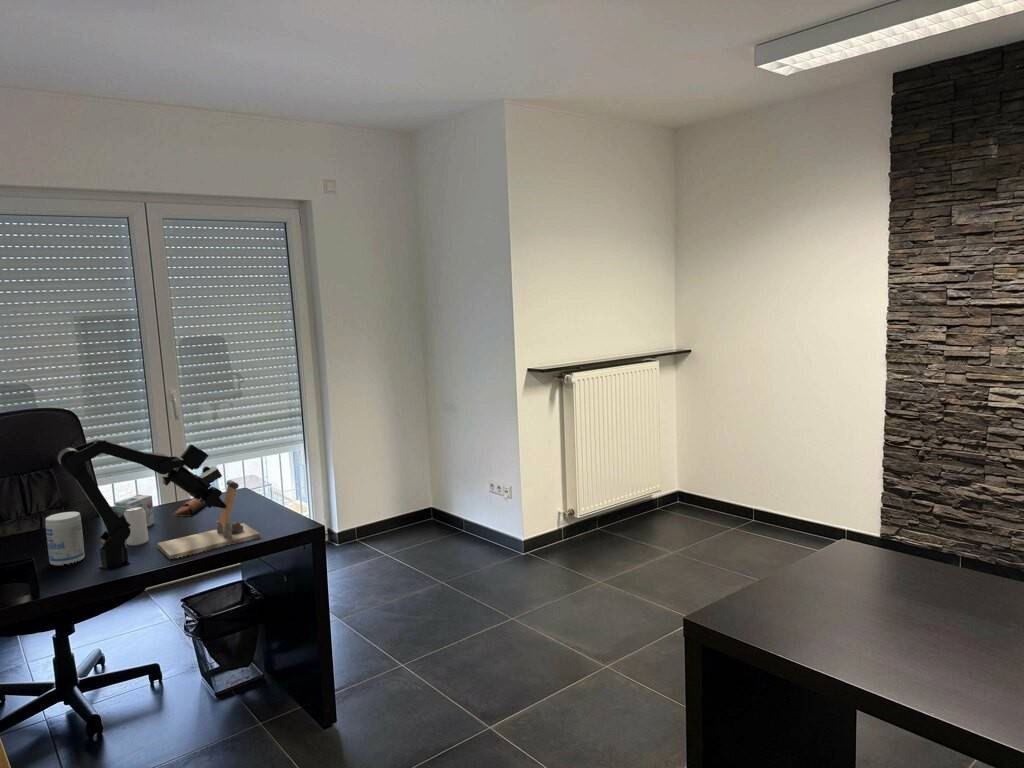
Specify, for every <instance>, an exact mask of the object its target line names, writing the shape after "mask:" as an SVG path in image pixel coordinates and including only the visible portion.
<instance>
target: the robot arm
mask: <svg viewBox="0 0 1024 768" xmlns="http://www.w3.org/2000/svg"><path fill="white" fill-rule="evenodd" d="M102 454H105V455H108V456H110V457H113V458H114V457H115V458H119V459H121V460H124V461H125V460H126V461H129V462H133V463H136V464H138V465H141V466H142V467H143V466H144V467H145V468H148V469H149V470H150V471H151V470H152V471H154V472H156V473H157V474H159V475H163V476H162V484H163V485H165V486H168V485H170V483H173V484H174V485H176V486H177V487H179V488H180V489H182V490H183V491H185V492H187V494H189V496H191V497H192V499H194V498H195V499H198V500H199V499H200V498H201V500H200V502H201V503H203V504H204V506H206V508H207V507H208V508H209V509H211V508H212V507H214V508H215V507H216V508H220V509H223V508H226V505H225V503H224V500H222V499H221V498H220V497H221V495H222V494H223V491H222V490H220V489H219V488H217V487H213V486H212V483H213V482H215V481H216V480H218V479H221V478H222V477H223V475H222V473H221V471H220V470H219V469H218V467H216V466H211V467H209V466H206V465H205V466H204V467H202V469H201V470H202V471H201V473H200V474H199V475H197V474H194V473H193V472H192V471H193V470H198V469H199V468H200V467H201V466H202V465H203V464H204V462H205V461H206V460H207V458H208V457H209V454H208V453H206V452H205V451H204V450H202V449H200V448H198V447H197V446H195V445H193V444H192V443H190V444H189V445H188V446H187V448H186V449H185V450H184V452H183V453H182V454H181V455H180V456H179V455H178V456H176V455H175V456H169V455H167V454H164V453H158V452H148V451H146V452H145V451H141V450H138V449H135V448H131V447H128V446H125V445H121V444H118V443H115V442H112V441H107V440H106V439H105V438H97V439H94V440H91V441H90V442H87V443H84V444H81V445H78V446H76V447H74V448H73V447H66V448H63V449H62V450H61V451H59V453H58V456H57V461H58V463H59V464H60V465H61V467H62V468H64V470H66V471H67V472H68V474H70V476H72V478H74V479H75V481H76V482H77V483H78V485H79V487H80V488H81V490H82V492H83V493H84V494H85V495H86V497H87V499H88V500H89V501H90V503H91V505H92V506H93V507H94V509H95V511H96V512H97V514H98V515H99V517H100V521H101V523H102V526H103V529H104V532H103V533H102V535H100V536H99V538H98V542H99V543H100V545H101V546H102V547H100V548H99V554H100V555H99V557H100V564H98V568H101V569H104V570H108V571H111V570H115V569H119V568H120V567H123V566H127V565H129V564H131V561H129V553H128V552H129V551H128V547H126V541H127V540H126V539H127V538H128V537H129V536H130V533H131V530H130V528H129V526H131V525H130V524H129V523H128V522H127V521H126V518H125V516H124V515H123V514H122V513H121V512H120V511H119V512H118V513H117V514H116V511H114V510H113V508H112V507H111V505H110V504H109V502H108V501H107V499H106V498H105V496H104V494H103V493H102V491H101V490H100V489H99V487H98V485H97V484H96V482H95V481H94V479H93V478H92V476H91V474H90V472H89V469H88V465H87V464H86V462H89V461H90V460H92V459H94V458H95V457H97V456H99V455H102ZM184 466H185V467H187V468H188V469H187V468H185V467H184ZM190 470H191V471H190Z"/></svg>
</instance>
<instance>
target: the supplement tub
mask: <svg viewBox="0 0 1024 768" xmlns="http://www.w3.org/2000/svg"><path fill="white" fill-rule="evenodd" d="M45 535H46V543H47V552H48V560H49V564H50V565H53V566H65V565H64V564H67V565H71V564H70V563H72V564H75V563H77V561H78V562H80V561H81V560H83V559H84V558H85V555H86V553H85V545H84V535H83V525H82V517H81V513H80V512H78V511H66V512H59V513H55V514H51V515H48V516H47V517H46V518H45ZM74 562H75V563H74Z"/></svg>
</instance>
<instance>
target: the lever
mask: <svg viewBox="0 0 1024 768" xmlns="http://www.w3.org/2000/svg"><path fill="white" fill-rule="evenodd" d="M226 485H227V487H226V493H225V497H224V500H223V502H224V503H225V505H226V508H221V509H222V510H221V514H220V518H219V521H220V522H219V523H221V524H222V525H228V524H230V523H229V522H230V518H231V513H232V509H233V505H234V501H235V496H236V491H237V489H239V486H240V485H239V483H237V482H235V481H234V480H231V479H229V480H228V481H227V482H226Z"/></svg>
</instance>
